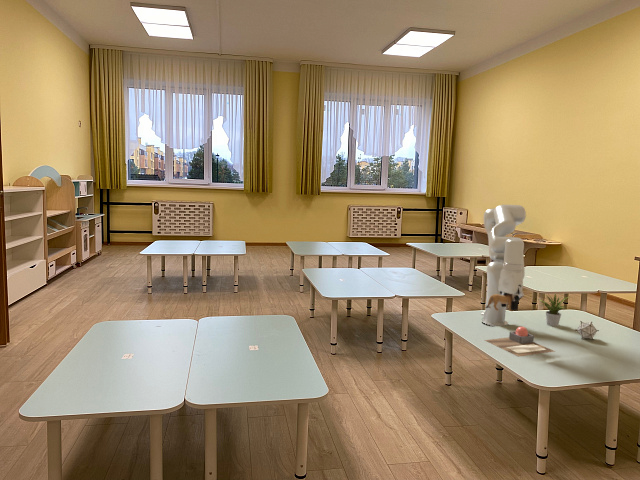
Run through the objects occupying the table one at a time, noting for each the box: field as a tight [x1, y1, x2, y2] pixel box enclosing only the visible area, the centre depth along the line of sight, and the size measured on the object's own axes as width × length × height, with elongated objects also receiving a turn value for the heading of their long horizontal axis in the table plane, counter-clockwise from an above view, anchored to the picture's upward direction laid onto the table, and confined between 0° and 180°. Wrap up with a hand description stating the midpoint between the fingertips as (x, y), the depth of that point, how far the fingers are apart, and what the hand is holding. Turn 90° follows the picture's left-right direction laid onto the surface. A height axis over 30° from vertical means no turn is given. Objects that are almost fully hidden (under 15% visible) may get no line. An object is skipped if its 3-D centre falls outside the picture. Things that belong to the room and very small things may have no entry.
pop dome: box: [515, 326, 529, 337], centre depth 210 cm, size 5×5×6 cm
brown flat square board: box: [484, 336, 556, 357], centre depth 204 cm, size 20×20×1 cm
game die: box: [574, 320, 600, 341], centre depth 219 cm, size 9×8×10 cm
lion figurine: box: [485, 294, 516, 312], centre depth 208 cm, size 15×5×9 cm, turn 95°
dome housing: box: [508, 330, 535, 344], centre depth 211 cm, size 7×7×3 cm
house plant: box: [539, 293, 570, 327], centre depth 239 cm, size 14×14×16 cm
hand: (509, 307), depth 208 cm, fingers closed on lion figurine, 5 cm apart
